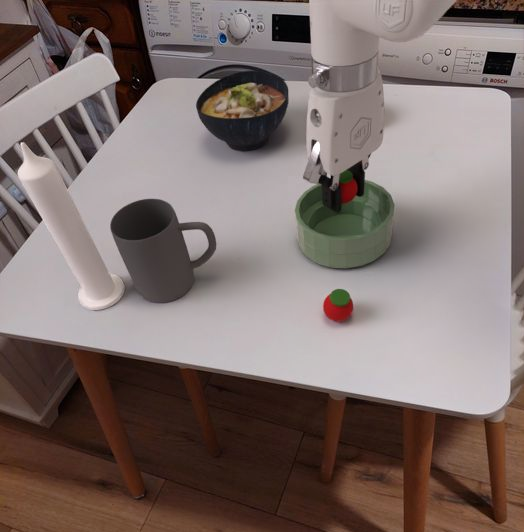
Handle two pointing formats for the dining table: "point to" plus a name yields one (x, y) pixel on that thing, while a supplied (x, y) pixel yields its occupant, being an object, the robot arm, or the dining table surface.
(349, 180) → the red ball green cap
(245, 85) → the bowl
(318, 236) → the fruit bowl
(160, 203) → the mug
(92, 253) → the candle
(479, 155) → the dining table surface
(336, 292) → the strawberry
